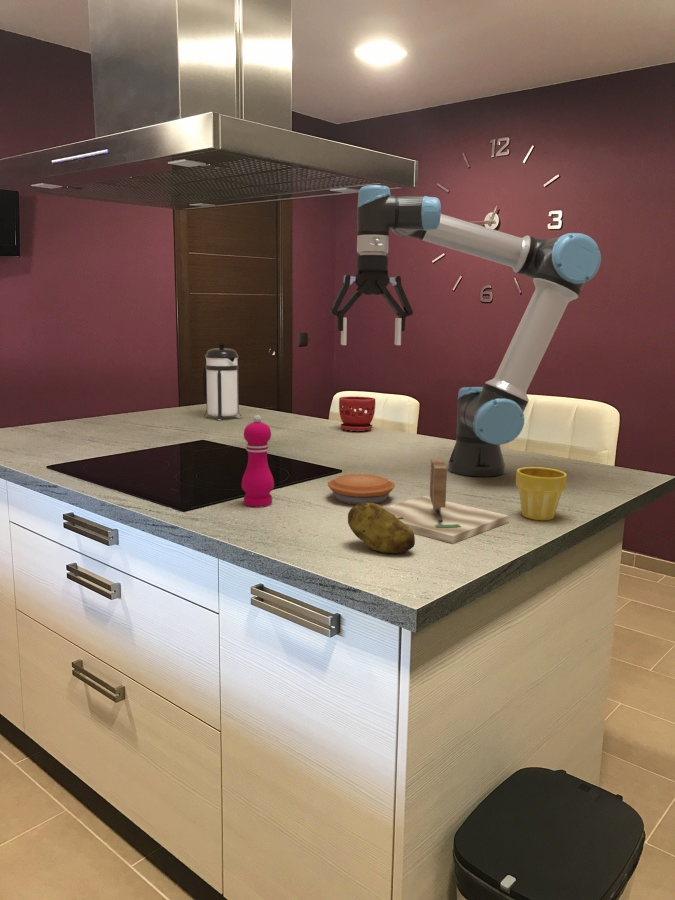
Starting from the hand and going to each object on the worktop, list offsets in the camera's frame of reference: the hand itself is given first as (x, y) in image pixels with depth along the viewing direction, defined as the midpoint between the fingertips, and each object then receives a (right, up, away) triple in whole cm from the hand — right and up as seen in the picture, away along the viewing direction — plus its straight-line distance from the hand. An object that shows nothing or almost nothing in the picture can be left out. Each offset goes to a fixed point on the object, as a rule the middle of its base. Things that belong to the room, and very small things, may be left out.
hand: (370, 345), depth 176 cm
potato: (0, -44, -43) cm, 61 cm away
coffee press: (-55, -13, +111) cm, 125 cm away
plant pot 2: (+35, -40, -21) cm, 57 cm away
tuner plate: (+12, -40, -25) cm, 49 cm away
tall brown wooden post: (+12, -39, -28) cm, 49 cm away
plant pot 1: (-1, -18, +87) cm, 89 cm away
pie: (-3, -37, -8) cm, 38 cm away
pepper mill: (-26, -38, -14) cm, 48 cm away
